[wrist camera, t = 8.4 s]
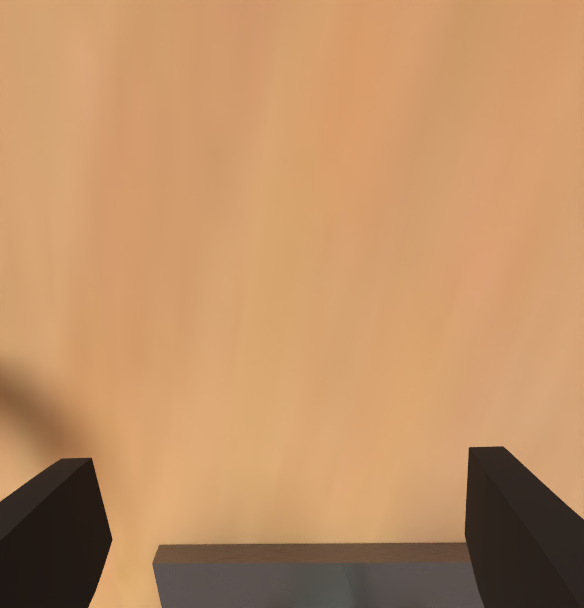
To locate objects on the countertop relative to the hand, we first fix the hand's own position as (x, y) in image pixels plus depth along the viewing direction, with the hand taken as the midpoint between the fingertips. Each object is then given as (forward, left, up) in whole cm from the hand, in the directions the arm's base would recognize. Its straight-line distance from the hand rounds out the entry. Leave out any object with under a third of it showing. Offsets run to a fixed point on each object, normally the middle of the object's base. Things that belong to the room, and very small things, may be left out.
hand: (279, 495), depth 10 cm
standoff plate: (-1, +19, -9) cm, 21 cm away
